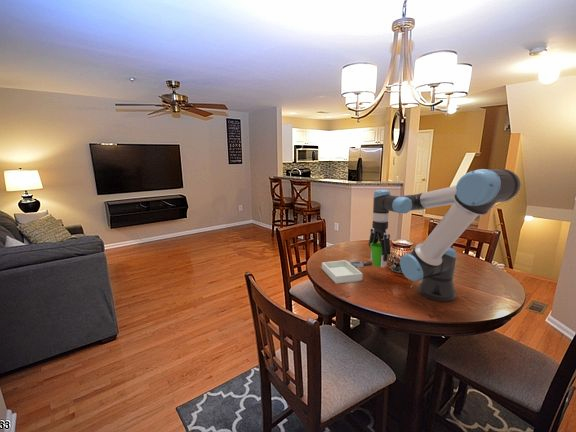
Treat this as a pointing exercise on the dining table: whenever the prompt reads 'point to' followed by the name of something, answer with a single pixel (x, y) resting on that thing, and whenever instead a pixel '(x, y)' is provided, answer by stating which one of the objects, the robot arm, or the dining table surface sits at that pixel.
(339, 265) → the bin
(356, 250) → the dining table surface
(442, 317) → the dining table surface
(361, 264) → the scoop
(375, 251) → the cup
